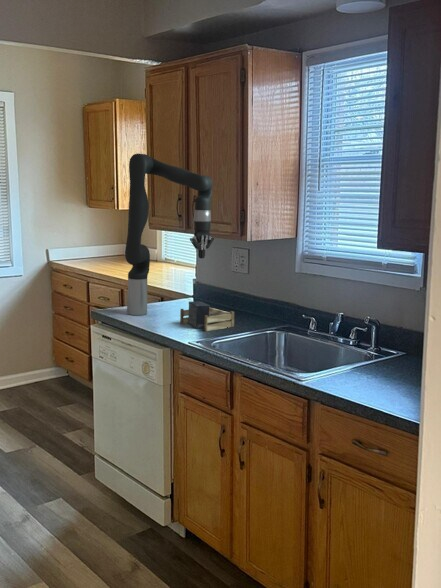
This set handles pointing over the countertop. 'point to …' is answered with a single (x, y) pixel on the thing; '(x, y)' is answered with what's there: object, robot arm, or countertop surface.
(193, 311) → the small box
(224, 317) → the pine crate
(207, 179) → the robot arm
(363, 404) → the countertop surface
